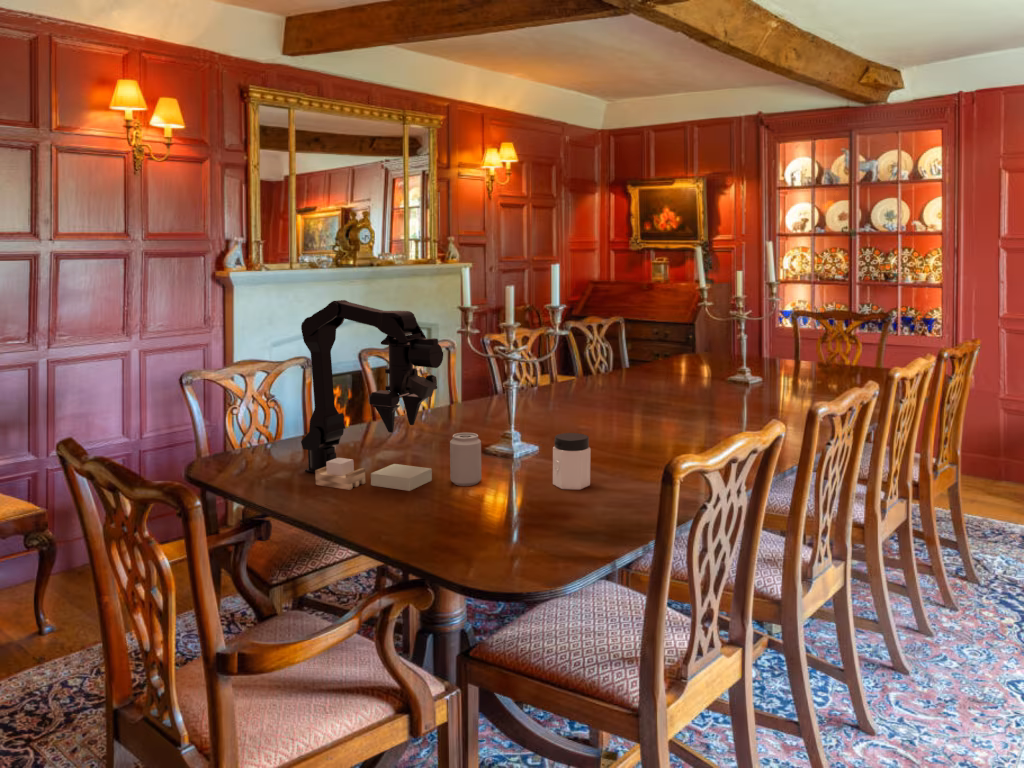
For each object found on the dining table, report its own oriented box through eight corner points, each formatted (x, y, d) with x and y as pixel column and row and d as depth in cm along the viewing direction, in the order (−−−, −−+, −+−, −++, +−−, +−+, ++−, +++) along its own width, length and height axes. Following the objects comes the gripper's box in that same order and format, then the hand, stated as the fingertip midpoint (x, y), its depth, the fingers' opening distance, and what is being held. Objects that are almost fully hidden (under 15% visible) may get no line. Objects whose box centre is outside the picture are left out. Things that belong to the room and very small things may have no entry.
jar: (547, 482, 207) (547, 434, 205) (577, 478, 210) (577, 431, 208) (565, 492, 199) (565, 442, 197) (595, 487, 202) (595, 438, 200)
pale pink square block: (326, 473, 205) (326, 461, 204) (338, 469, 209) (338, 457, 209) (342, 476, 203) (341, 463, 202) (353, 471, 207) (353, 459, 207)
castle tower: (315, 485, 206) (315, 470, 205) (332, 479, 211) (331, 464, 211) (349, 490, 201) (348, 475, 201) (365, 483, 207) (365, 468, 207)
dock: (371, 485, 205) (370, 473, 204) (394, 475, 214) (394, 463, 213) (409, 490, 200) (409, 478, 200) (431, 480, 209) (431, 468, 209)
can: (481, 478, 211) (480, 431, 209) (481, 486, 204) (480, 437, 202) (451, 478, 211) (450, 431, 209) (450, 487, 203) (449, 438, 201)
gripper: (408, 372, 190) (409, 440, 193) (450, 362, 207) (449, 424, 209) (367, 368, 195) (368, 435, 197) (411, 358, 211) (411, 420, 214)
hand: (401, 428), depth 204 cm, fingers open, 9 cm apart
